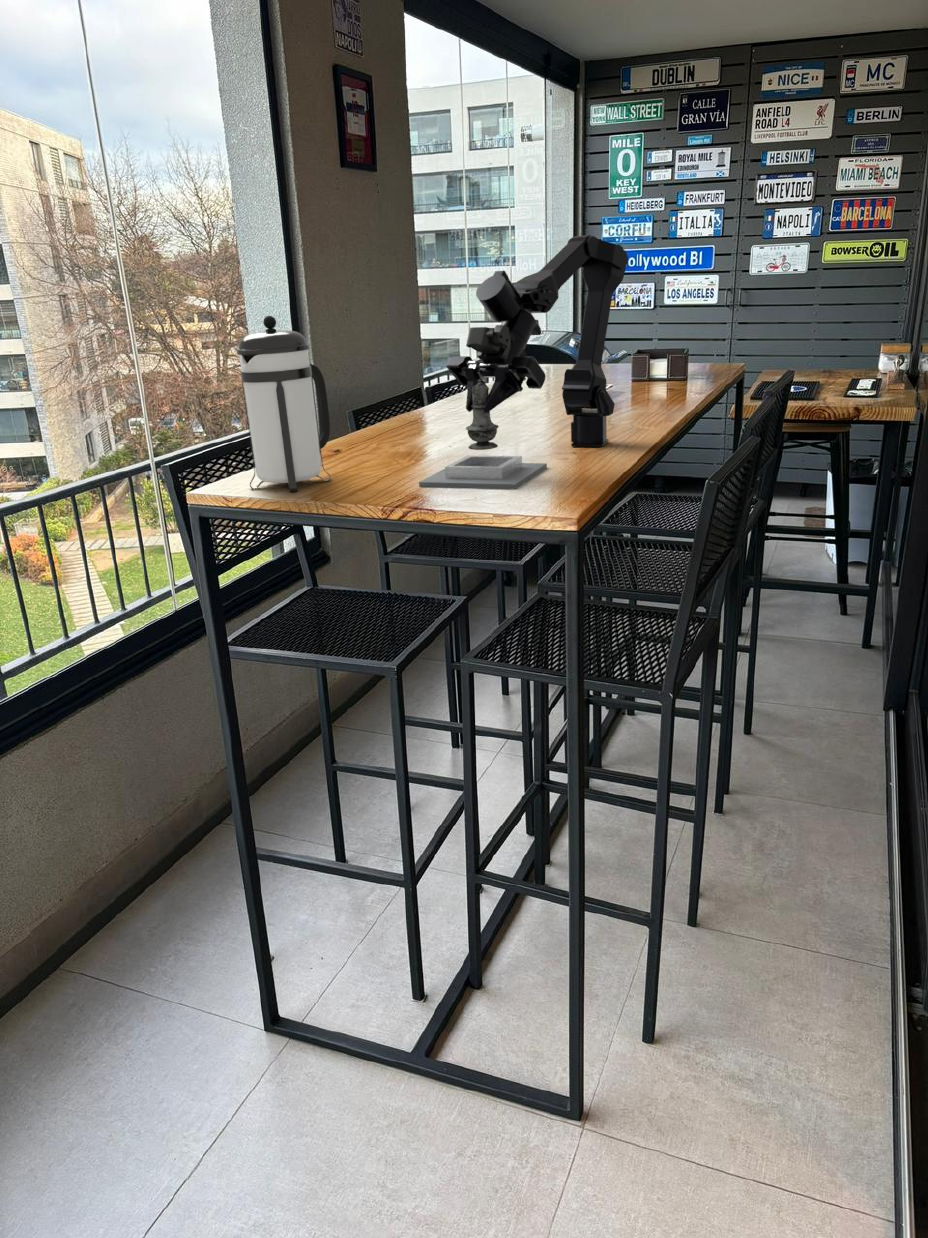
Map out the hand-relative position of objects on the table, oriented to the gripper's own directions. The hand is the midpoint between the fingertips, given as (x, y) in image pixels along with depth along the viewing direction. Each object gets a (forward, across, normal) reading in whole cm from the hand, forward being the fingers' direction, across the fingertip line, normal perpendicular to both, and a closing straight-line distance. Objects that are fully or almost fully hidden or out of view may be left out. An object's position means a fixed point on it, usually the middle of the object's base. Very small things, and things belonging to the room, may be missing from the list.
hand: (476, 410), depth 160 cm
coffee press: (+22, -30, -4) cm, 38 cm away
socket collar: (+8, 0, +9) cm, 12 cm away
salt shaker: (+4, 0, +6) cm, 7 cm away
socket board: (+8, 0, +9) cm, 12 cm away
